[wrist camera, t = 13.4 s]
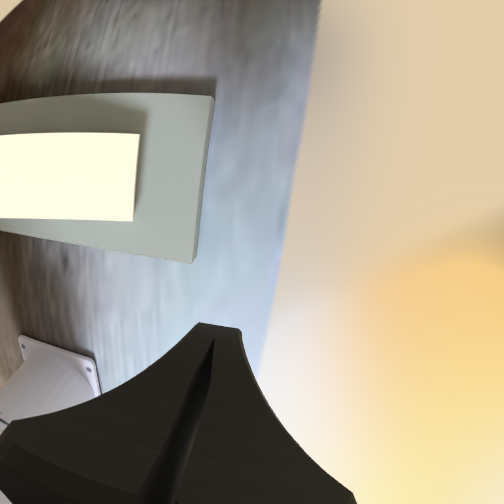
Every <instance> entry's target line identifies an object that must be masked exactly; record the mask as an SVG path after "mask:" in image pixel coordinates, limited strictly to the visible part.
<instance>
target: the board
mask: <svg viewBox="0 0 504 504" xmlns="http://www.w3.org/2000/svg"><path fill="white" fill-rule="evenodd" d="M214 103H215V99H214V98H213V97H212V96H203V95H188V94H168V93H100V94H80V95H66V96H54V97H44V98H35V99H27V100H20V101H13V102H7V103H0V135H14V134H33V133H125V134H141V136H140V146H139V155H138V166H137V178H136V192H135V209H134V218H133V221H106V220H74V219H30V218H0V231H5V232H11V233H16V234H21V235H27V236H32V237H38V238H43V239H49V240H54V241H60V242H65V243H71V244H77V245H83V246H88V247H94V248H100V249H106V250H112V251H118V252H123V253H129V254H135V255H142V256H148V257H154V258H160V259H166V260H172V261H179V262H185V263H191V264H192V263H193V261H194V259H195V258H196V255H197V244H198V234H199V223H200V214H201V204H202V195H203V186H204V178H205V169H206V161H207V153H208V146H209V138H210V131H211V124H212V117H213V110H214Z"/></svg>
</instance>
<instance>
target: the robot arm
mask: <svg viewBox="0 0 504 504" xmlns="http://www.w3.org/2000/svg"><path fill="white" fill-rule="evenodd" d="M18 340H19V344H20V348H21V351H22V355H23V358H24V363H23V364H22V365H21V366H20V367H19V369H18V370H17V371H16V372H15V373H14V374H13V375H12V376H11V377H10V378H9V380H8V381H7V382H6V383H5V384H4V385H3V386H2V387H1V389H0V504H357V502H356V500H355V497H354V495H353V493H352V492H351V491H350V490H348V489H347V488H346V487H344V486H343V485H342V484H340V483H339V482H338V481H337V480H335V479H334V478H333V477H331V476H330V475H329V474H327V473H326V472H325V471H324V470H323V469H322V468H321V467H320V466H319V465H318V464H317V463H316V462H315V461H314V460H312V459H311V457H309V456H308V455H307V454H306V452H304V450H303V449H302V448H301V447H300V446H299V444H298V443H297V442H296V441H295V440H294V439H293V437H292V436H291V435H290V434H289V433H288V432H287V430H286V429H285V428H284V427H283V425H282V424H281V422H280V421H279V419H278V418H277V417H276V415H275V413H274V412H273V410H272V409H271V407H270V406H269V404H268V402H267V401H266V399H265V397H264V395H263V393H262V391H261V390H260V387H259V386H258V383H257V381H256V379H255V377H254V375H253V372H252V370H251V367H250V365H249V362H248V359H247V356H246V353H245V349H244V346H243V341H242V332H241V331H240V330H239V329H237V328H231V327H224V326H218V325H212V324H206V323H200V322H199V323H198V324H196V325H195V326H194V327H193V328H192V329H191V330H190V331H189V332H188V333H187V334H186V335H185V336H184V337H183V338H182V339H181V340H180V341H179V342H178V343H177V344H176V345H175V346H174V347H173V348H171V349H170V350H169V351H168V352H167V353H166V354H165V355H163V356H162V357H161V358H160V359H158V360H157V361H156V362H154V363H153V364H152V365H150V366H149V367H148V368H146V369H145V370H144V371H142V372H141V373H139V374H138V375H136V376H135V377H133V378H132V379H130V380H128V381H127V382H125V383H123V384H122V385H120V386H118V387H116V388H114V389H112V390H110V391H108V392H106V393H104V394H102V395H101V393H100V388H99V382H98V377H97V371H96V366H95V362H94V361H93V360H92V359H91V358H89V357H86V356H83V355H79V354H76V353H73V352H70V351H67V350H64V349H61V348H58V347H55V346H52V345H49V344H46V343H43V342H40V341H37V340H35V339H32V338H29V337H27V336H24V335H21V336H19V338H18Z"/></svg>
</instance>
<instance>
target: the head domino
mask: <svg viewBox="0 0 504 504" xmlns="http://www.w3.org/2000/svg"><path fill="white" fill-rule="evenodd" d="M140 136H141V134H125V133H33V134H14V135H0V218H30V219H74V220H106V221H133V218H134V209H135V192H136V178H137V166H138V155H139V146H140Z"/></svg>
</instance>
